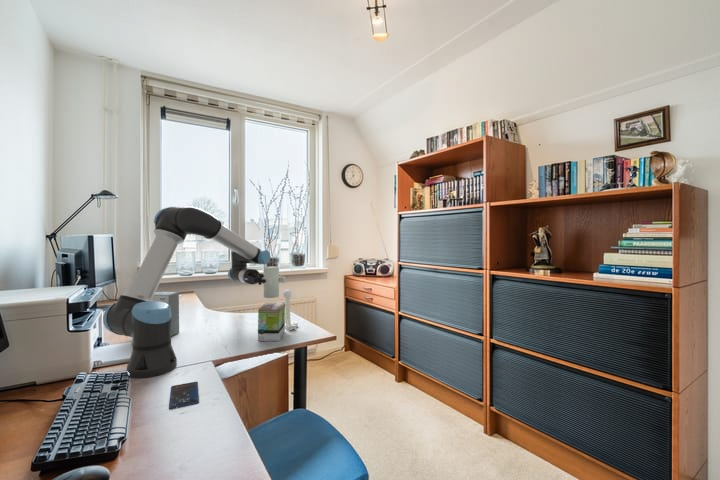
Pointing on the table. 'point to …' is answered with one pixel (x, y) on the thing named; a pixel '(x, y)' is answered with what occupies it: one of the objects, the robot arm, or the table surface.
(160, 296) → the hard drive box
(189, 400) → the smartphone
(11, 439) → the table surface
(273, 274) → the canister
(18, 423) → the table surface
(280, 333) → the tea box
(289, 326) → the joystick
